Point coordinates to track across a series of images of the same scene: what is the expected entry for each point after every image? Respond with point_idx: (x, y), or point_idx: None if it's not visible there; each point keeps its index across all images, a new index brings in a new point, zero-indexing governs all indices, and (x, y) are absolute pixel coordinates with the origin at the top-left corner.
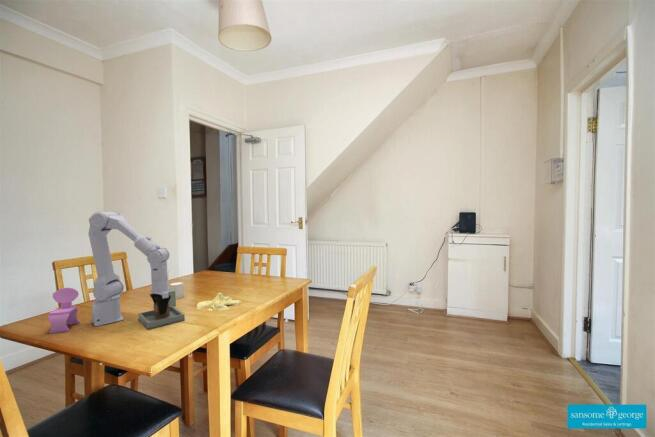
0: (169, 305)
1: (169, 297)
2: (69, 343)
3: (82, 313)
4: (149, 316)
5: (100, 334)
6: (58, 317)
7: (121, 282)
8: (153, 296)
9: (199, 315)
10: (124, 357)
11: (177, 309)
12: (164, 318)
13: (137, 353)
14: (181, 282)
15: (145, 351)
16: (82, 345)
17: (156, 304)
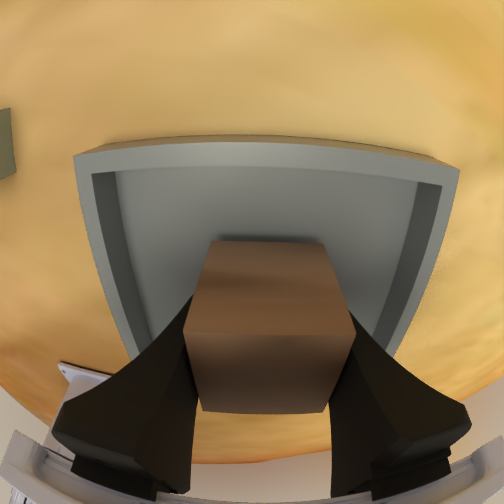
0: (3, 154)
1: (463, 422)
2: (261, 456)
3: (22, 385)
4: (154, 315)
5: (251, 433)
6: None
7: (20, 497)
8: (188, 477)
9: (407, 21)
10: (470, 390)
11: (251, 143)
12: (402, 312)
13: (484, 373)
14: None
15: (495, 360)
16: (305, 448)
17: (256, 407)
